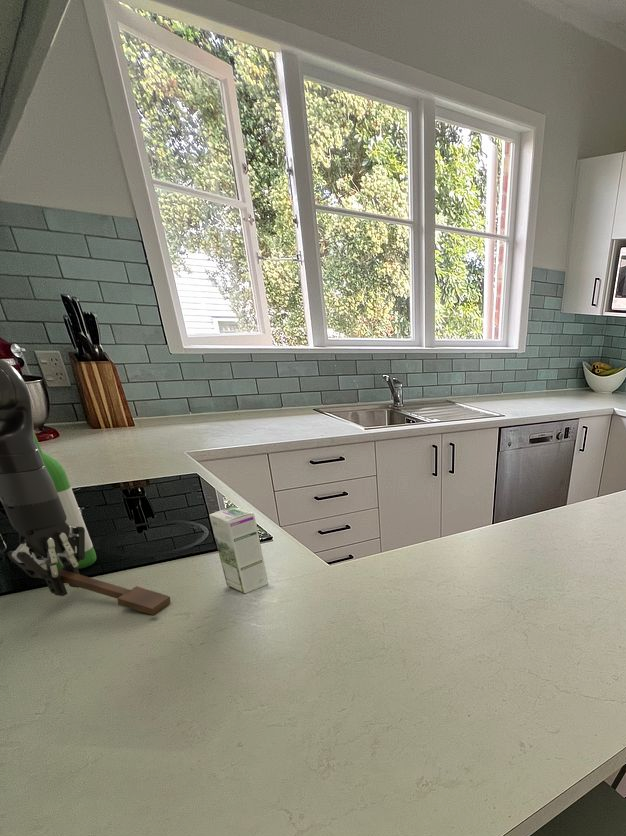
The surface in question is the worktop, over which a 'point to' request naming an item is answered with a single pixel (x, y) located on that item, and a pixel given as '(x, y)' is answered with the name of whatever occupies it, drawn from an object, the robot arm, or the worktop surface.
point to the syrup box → (239, 549)
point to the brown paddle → (119, 593)
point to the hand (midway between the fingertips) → (68, 590)
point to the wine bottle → (68, 505)
